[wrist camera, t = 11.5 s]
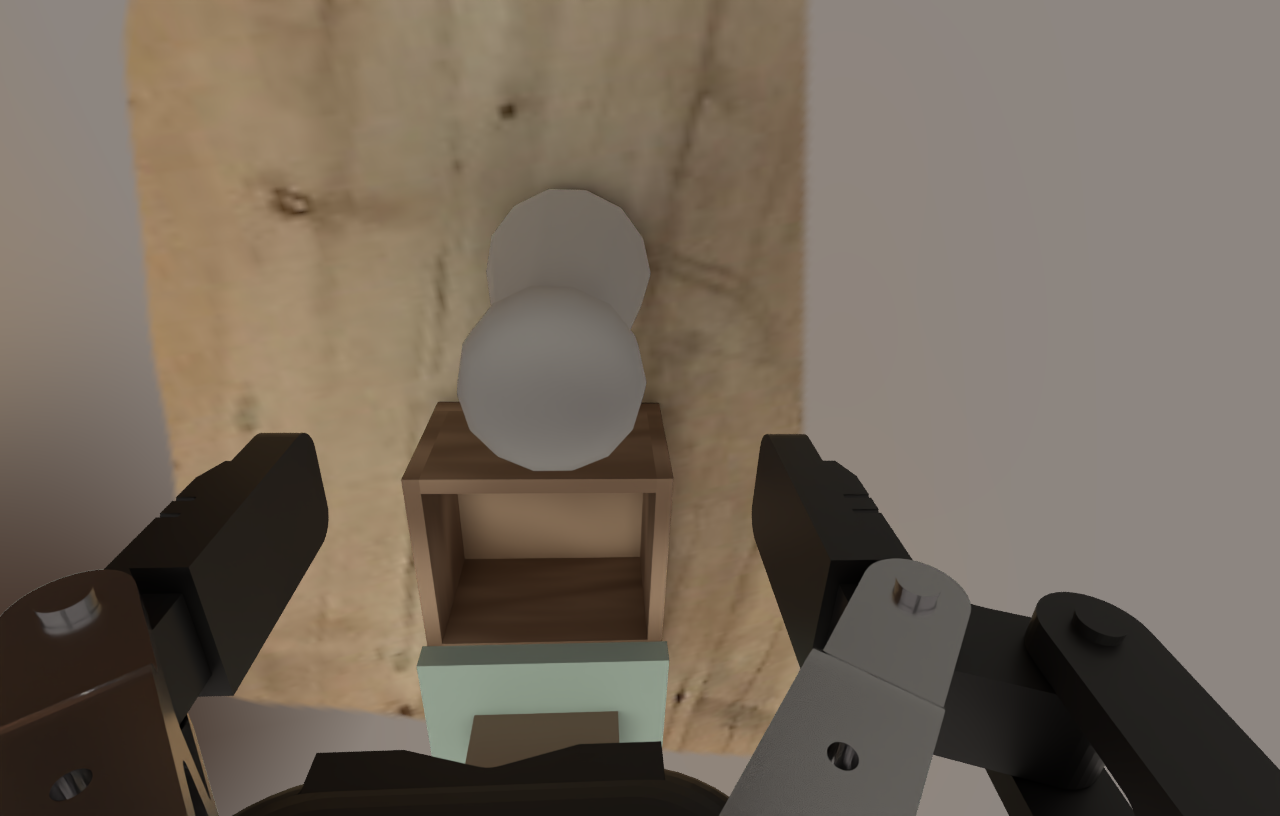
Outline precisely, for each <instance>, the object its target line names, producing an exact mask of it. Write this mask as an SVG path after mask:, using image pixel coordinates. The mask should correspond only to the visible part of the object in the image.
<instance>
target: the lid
mask: <svg viewBox="0 0 1280 816" xmlns="http://www.w3.org/2000/svg"><path fill="white" fill-rule="evenodd" d="M668 669H669V655H668V647H667V641H660V642H612V643H565V644H517V645H469V646H423V647H422V650H421V654H420V657H419V660H418V664H417V671H418V677H419V683H420V689H421V695H422V701H423V707H424V712H425V718H426V724H427V730H428V736H429V742H430V748H431V753H432V756H433V757H437V758H442V759H446V760H451V761H455V762H460V763H465V764H469V765H474V766H478V767H485V768H490V767H497V766H501V765H505V764H508V763H512V762H516V761H519V760H523V759H527V758H530V757H534V756H537V755H541V754H545V753H548V752H552V751H556V750H559V749H563V748H566V747H570V746H574V745H577V744H595V743H625V742H654V741H661V744H662V742H663V730H664V718H665V705H666V693H667V681H668Z"/></svg>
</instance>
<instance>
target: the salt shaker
mask: <svg viewBox="0 0 1280 816" xmlns="http://www.w3.org/2000/svg"><path fill="white" fill-rule="evenodd" d="M486 273H487V280H488V288H489V295H490V302H491V307H490V308H489V309H488V310H487V312H486V313H485V314H484V315H483V317H482V318H481V319H480V321H479V322H478V323H477V324H476V326H475V327H474V328H473V329H472V331H471V332H470V333H469V335H468V336H467V338H466V339H465V341H464V342H463V345H462V353H461V360H460V368H459V375H458V384H457V395H458V398H459V401H460V404H461V407H462V410H463V412H464V415H465V418H466V421H467V424H468V427H469V429H470V431H471V432H472V433H473V434H474V435H476V436H477V437H478V438H479V439H480V440H481V441H482V442H483V443H484V444H485V445H486V446H487V447H488V448H489V449H490V450H491V451H492V452H493V453H494V454H496V455H497V456H498V457H500V458H503V459H505V460H508V461H510V462H513V463H515V464H518V465H520V466H523V467H525V468H528V469H530V470H533V471H572V470H575V469H578V468H580V467H583V466H585V465H588V464H590V463H593V462H595V461H598V460H600V459H603V458H605V457H608V456H609V455H610V454H611V453H612V452H613V451H614V450H615V448H616V447H617V446H618V445H619V444H620V443H621V442H622V441H623V440H624V439H625V438H626V436H627V435H628V434H629V433H630V432H631V431H632V430H633V428H634V424H635V421H636V418H637V415H638V411H639V408H640V405H641V401H642V398H643V395H644V391H645V387H646V383H647V382H646V378H645V374H644V369H643V365H642V360H641V356H640V351H639V347H638V343H637V340H636V337H635V335H634V334H633V332H632V331H631V330H630V329H631V327H632V325H633V323H634V321H635V318H636V316H637V314H638V312H639V310H640V308H641V305H642V301H643V298H644V295H645V291H646V288H647V284H648V281H649V278H650V274H651V273H650V269H649V264H648V259H647V254H646V250H645V245H644V240H643V238H642V236H641V235H640V233H639V232H638V231H637V229H636V228H635V226H634V225H633V224H632V222H631V221H630V219H629V218H628V217H627V215H626V214H625V212H624V211H623V210H622V208H620V207H618V206H616V205H614V204H612V203H610V202H608V201H607V200H605V199H603V198H601V197H599V196H597V195H595V194H593V193H591V192H589V191H587V190H569V189H547V190H545V191H543V192H541V193H539V194H537V195H535V196H533V197H531V198H529V199H527V200H525V201H523V202H521V203H519V204H517V205H515V206H513V208H512V209H511V210H510V212H509V213H508V214H507V216H506V217H505V218H504V220H503V221H502V222H501V224H500V225H499V227H498V228H497V229H496V231H495V232H494V233H493V235H492V238H491V244H490V250H489V257H488V263H487V270H486Z"/></svg>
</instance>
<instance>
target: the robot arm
mask: <svg viewBox="0 0 1280 816" xmlns="http://www.w3.org/2000/svg"><path fill="white" fill-rule="evenodd" d="M868 495H869V494H868V493H867V491H866V490H865V488H864V487H863V485H862V484H861V482H860V481H859V479H858V478H857V476H856V475H854V474H853V473H851V472H850V471H849V470H847V469H846V468H844V467H843V466H842V465H840V464H839V463H837V462H836V461H823V460H822V459H821V457H820V456H819V454H818V452H817V451H816V449H815V447H814V446H813V444H812V442H811V441H810V439H809V437H808V436H807V435H805V434H766V435H764V437H763V438H762V441H761V446H760V453H759V460H758V467H757V474H756V482H755V489H754V496H753V504H752V526H753V533H754V538H755V541H756V544H757V547H758V550H759V552H760V555H761V558H762V561H763V564H764V567H765V569H766V572H767V575H768V578H769V581H770V584H771V586H772V589H773V592H774V595H775V598H776V601H777V603H778V606H779V609H780V612H781V615H782V618H783V620H784V623H785V626H786V629H787V632H788V635H789V637H790V640H791V643H792V646H793V649H794V652H795V654H796V657H797V660H798V663H799V666H800V671H799V673H798V675H797V676H796V678H795V680H794V682H793V684H792V685H791V687H790V689H789V691H788V693H787V694H786V696H785V698H784V700H783V702H782V703H781V705H780V707H779V709H778V711H777V712H776V714H775V716H774V718H773V720H772V721H771V723H770V725H769V727H768V729H767V730H766V732H765V734H764V736H763V737H762V739H761V741H760V743H759V745H758V746H757V748H756V750H755V752H754V754H753V755H752V757H751V759H750V761H749V763H748V764H747V766H746V768H745V770H744V772H743V774H742V775H741V777H740V779H739V781H738V782H737V784H736V786H735V788H734V790H733V791H732V793H731V795H730V797H728V796H727V795H726V794H724V793H722V792H721V791H719V790H718V789H716V788H714V787H712V786H710V785H708V784H706V783H704V782H702V781H700V780H698V779H696V778H693V777H690V776H687V775H684V774H682V773H679V772H675V771H670V770H666V769H664V764H663V754H662V744H661V741H654V742H625V743H595V744H577V745H574V746H570V747H566V748H563V749H559V750H556V751H552V752H548V753H545V754H541V755H537V756H534V757H530V758H527V759H523V760H519V761H516V762H512V763H508V764H505V765H501V766H497V767H490V768H485V767H478V766H474V765H469V764H465V763H460V762H455V761H451V760H446V759H442V758H437V757H433V756H428V755H424V754H419V753H415V752H410V751H406V750H393V751H363V752H337V753H336V752H333V753H317V754H316V756H315V758H314V760H313V763H312V766H311V768H310V770H309V773H308V775H307V777H306V780H305V782H304V784H303V785H299V786H296V787H293V788H290V789H287V790H285V791H282V792H279V793H277V794H275V795H272V796H269V797H267V798H265V799H263V800H261V801H259V802H257V803H255V804H252V805H251V806H248V807H246V808H245V809H243V810H241V811H240V812H238V813H236V814H234V815H233V816H916V813H917V810H918V806H919V803H920V799H921V796H922V792H923V788H924V785H925V781H926V778H927V774H928V771H929V767H930V763H931V760H932V757H933V755H936V756H941V757H944V758H948V759H951V760H955V761H960V762H963V763H967V764H970V765H974V766H978V767H982V768H985V769H986V771H987V773H988V775H989V777H990V779H991V781H992V783H993V785H994V787H995V789H996V791H997V793H998V795H999V797H1000V799H1001V801H1002V802H1003V804H1004V807H1005V809H1006V810H1007V812H1008V814H1009V816H1280V770H1279V769H1278V768H1277V766H1276V765H1274V763H1273V762H1272V761H1271V760H1270V759H1269V758H1268V757H1267V756H1266V755H1265V754H1264V752H1263V751H1262V750H1261V749H1260V748H1259V747H1258V746H1257V745H1256V744H1255V743H1254V742H1253V741H1252V740H1251V739H1250V738H1249V736H1248V735H1247V734H1246V733H1245V732H1244V731H1243V730H1242V729H1241V728H1240V727H1239V726H1238V725H1237V724H1236V723H1235V721H1234V720H1233V719H1232V718H1231V717H1229V715H1228V714H1227V713H1226V712H1225V711H1224V710H1223V709H1222V708H1221V707H1220V705H1219V704H1217V702H1216V701H1215V700H1214V699H1213V698H1212V697H1211V696H1210V695H1209V694H1208V693H1207V692H1206V690H1205V689H1204V688H1203V687H1202V686H1201V685H1200V684H1199V683H1198V682H1197V681H1196V680H1195V679H1194V678H1193V677H1192V676H1191V674H1190V673H1189V672H1188V671H1187V670H1186V669H1185V668H1184V667H1183V666H1182V665H1181V664H1180V663H1179V662H1178V661H1177V660H1176V658H1175V657H1174V656H1173V655H1172V654H1171V653H1170V652H1169V651H1168V650H1167V649H1166V648H1165V647H1164V646H1163V645H1162V643H1161V642H1160V641H1159V640H1158V639H1157V638H1156V637H1155V636H1154V635H1153V634H1152V633H1151V632H1150V631H1149V630H1148V629H1147V628H1146V627H1145V626H1144V625H1143V624H1142V623H1141V622H1139V621H1138V620H1136V619H1135V618H1134V617H1132V616H1131V615H1129V614H1128V613H1126V612H1125V611H1123V610H1121V609H1120V608H1117V607H1116V606H1114V605H1112V604H1110V603H1107V602H1105V601H1103V600H1100V599H1097V598H1094V597H1091V596H1087V595H1084V594H1078V593H1070V592H1056V593H1051V594H1048V595H1046V596H1044V597H1043V598H1041V599H1040V600H1039V602H1038V603H1037V606H1036V608H1035V611H1034V613H1033V615H1032V618H1031V617H1026V616H1022V615H1017V614H1012V613H1007V612H1003V611H998V610H993V609H988V608H984V607H980V606H976V605H973V604H970V600H969V598H968V595H967V594H966V592H965V591H964V589H963V588H962V587H961V586H960V585H959V584H958V583H957V582H956V581H955V580H954V579H952V578H951V577H950V576H948V575H947V574H945V573H944V572H942V571H940V570H938V569H936V568H934V567H932V566H930V565H927V564H924V563H921V562H918V561H913V560H912V558H911V557H910V555H909V554H908V552H907V551H906V549H905V548H904V547H903V545H902V543H901V542H900V540H899V539H898V537H897V536H896V534H895V533H894V531H893V530H892V528H891V527H890V525H889V524H888V522H887V521H886V520H885V518H884V516H883V515H882V514H881V513H879V512H878V508H877V506H876V505H875V503H874V502H873V500H872V499H871V498H869V496H868ZM327 528H328V506H327V501H326V496H325V492H324V487H323V483H322V478H321V473H320V469H319V464H318V459H317V455H316V450H315V446H314V443H313V440H312V438H311V437H310V436H309V435H308V434H306V433H259V434H257V435H256V436H255V437H254V438H253V439H252V440H251V441H250V442H249V443H248V444H247V445H246V446H245V447H244V448H243V449H242V450H241V451H240V452H239V453H238V454H237V455H236V456H235V457H234V459H233V460H232V461H225V462H223V463H221V464H219V465H218V466H216V467H214V468H212V469H210V470H209V471H207V472H205V473H203V474H202V475H200V476H198V477H196V478H195V479H194V480H193V481H192V482H191V483H190V484H189V485H188V486H187V487H186V488H185V489H184V490H183V491H182V492H181V493H180V494H179V495H178V496H177V497H176V501H172V502H171V503H170V504H169V505H168V506H167V507H166V508H165V509H164V510H163V511H162V512H161V513H160V518H155V519H154V520H153V521H152V522H151V523H150V524H149V525H148V526H147V527H146V528H145V529H144V530H143V531H142V532H141V533H140V534H139V535H138V536H137V537H136V538H135V539H134V540H133V541H132V542H131V543H130V544H129V545H128V546H127V547H126V548H125V549H124V550H123V551H122V552H121V553H120V554H119V555H118V556H117V557H116V558H115V559H114V560H113V561H112V562H111V563H110V564H109V565H108V566H107V567H106V568H105V569H104V570H92V571H86V572H81V573H77V574H73V575H70V576H66V577H63V578H60V579H58V580H55V581H52V582H50V583H48V584H45V585H43V586H41V587H39V588H37V589H35V590H33V591H32V592H30V593H28V594H26V595H25V596H23V597H22V598H20V599H19V600H17V601H16V602H15V603H14V604H13V605H11V606H10V607H9V608H8V609H7V610H6V611H4V612H3V614H2V615H1V616H0V816H219V815H218V811H217V807H216V804H215V800H214V797H213V793H212V790H211V786H210V783H209V779H208V776H207V772H206V769H205V766H204V762H203V759H202V755H201V752H200V748H199V745H198V741H197V738H196V734H195V731H194V727H193V724H192V722H191V719H190V717H189V715H188V711H189V710H190V708H191V706H192V705H193V703H194V702H195V700H196V699H197V697H200V696H234V694H235V692H236V691H237V689H238V687H239V686H240V684H241V682H242V680H243V679H244V677H245V675H246V674H247V672H248V670H249V668H250V667H251V665H252V663H253V662H254V660H255V658H256V657H257V655H258V653H259V651H260V650H261V648H262V646H263V645H264V643H265V641H266V639H267V638H268V636H269V634H270V633H271V631H272V629H273V628H274V626H275V624H276V622H277V621H278V619H279V617H280V616H281V614H282V612H283V610H284V609H285V607H286V605H287V604H288V602H289V600H290V599H291V597H292V595H293V593H294V592H295V590H296V588H297V587H298V585H299V583H300V581H301V580H302V578H303V576H304V575H305V573H306V571H307V570H308V568H309V566H310V564H311V563H312V561H313V559H314V558H315V556H316V554H317V553H318V551H319V549H320V547H321V546H322V544H323V542H324V540H325V537H326V533H327ZM1104 766H1106V767H1107V769H1108V770H1109V771H1110V773H1111V774H1112V776H1113V777H1114V779H1115V780H1116V782H1117V783H1118V785H1119V786H1120V788H1121V789H1122V790H1123V792H1124V793H1125V795H1126V797H1127V798H1128V800H1129V802H1130V804H1131V806H1132V808H1131V807H1130V805H1129V804H1128V802H1127V801H1126V799H1125V798H1124V796H1123V795H1122V793H1121V792H1120V791H1119V789H1118V787H1117V786H1116V784H1115V783H1114V782H1113V780H1112V779H1111V777H1110V776H1109V774H1108V773H1107V771H1106V770H1105V768H1104Z"/></svg>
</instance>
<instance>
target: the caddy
mask: <svg viewBox="0 0 1280 816" xmlns="http://www.w3.org/2000/svg"><path fill="white" fill-rule="evenodd" d="M673 480H674V479H673V473H672V468H671V463H670V458H669V453H668V448H667V442H666V437H665V432H664V427H663V422H662V416H661V411H660V406H659V403H641V405H640V408H639V411H638V415H637V418H636V421H635V424H634V428H633V430H632V431H631V432H630V433H629V434H628V435H627V436H626V438H625V439H624V440H623V441H622V442H621V443H620V444H619V445H618V446H617V447H616V448H615V450H614V451H613V452H612V453H611V454H610V455H609V456H608V457H605V458H603V459H600V460H598V461H595V462H593V463H590V464H588V465H585V466H583V467H580V468H578V469H575V470H572V471H533V470H530V469H528V468H525V467H523V466H520V465H518V464H515V463H513V462H510V461H508V460H505V459H503V458H500V457H498V456H497V455H496V454H494V453H493V452H492V451H491V450H490V449H489V448H488V447H487V446H486V445H485V444H484V443H483V442H482V441H481V440H480V439H479V438H478V437H477V436H476V435H474V434H473V433H472V432H471V431H470V429H469V427H468V424H467V421H466V418H465V415H464V412H463V410H462V407H461V404H460V402H438V403H437V405H436V407H435V410H434V412H433V414H432V416H431V418H430V420H429V422H428V424H427V426H426V429H425V431H424V433H423V435H422V437H421V439H420V441H419V443H418V445H417V448H416V450H415V452H414V454H413V456H412V458H411V460H410V462H409V465H408V467H407V469H406V471H405V473H404V475H403V477H402V479H401V481H402V488H403V494H404V500H405V507H406V513H407V520H408V526H409V532H410V539H411V545H412V551H413V558H414V564H415V570H416V577H417V583H418V589H419V596H420V602H421V609H422V615H423V621H424V628H425V634H426V640H427V646H469V645H517V644H565V643H612V642H660V641H662V632H663V618H664V604H665V590H666V576H667V563H668V549H669V535H670V521H671V507H672V493H673Z"/></svg>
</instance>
